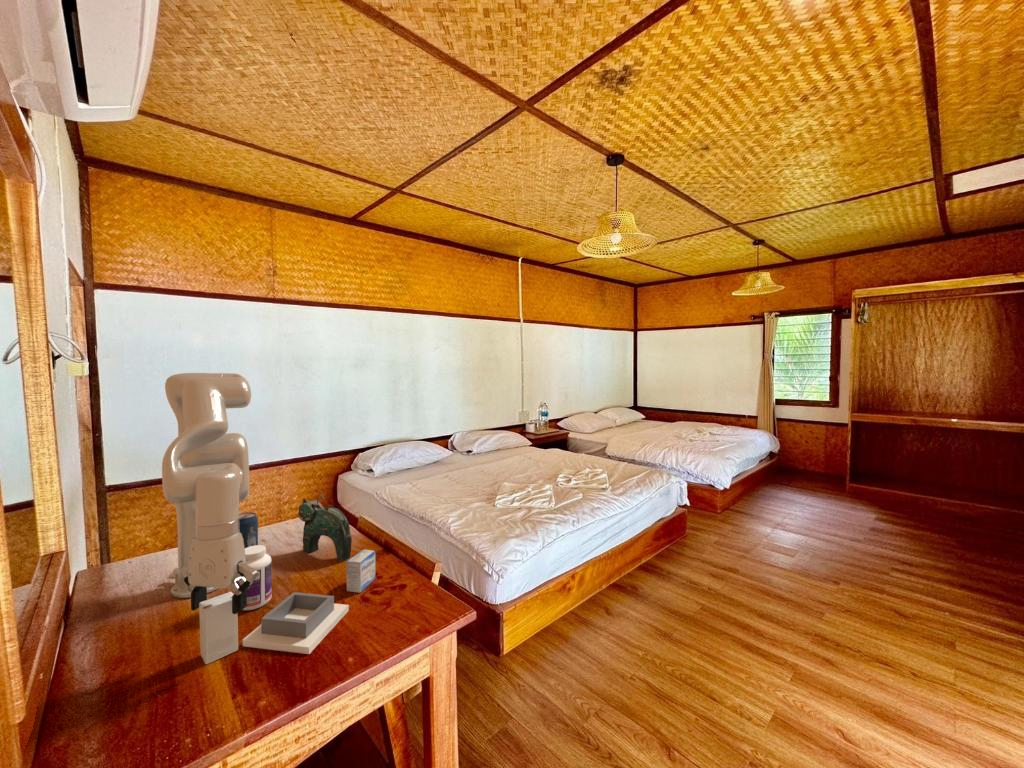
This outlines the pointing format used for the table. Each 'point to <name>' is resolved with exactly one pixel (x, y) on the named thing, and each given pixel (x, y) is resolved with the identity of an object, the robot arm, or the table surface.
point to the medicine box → (360, 571)
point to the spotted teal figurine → (325, 528)
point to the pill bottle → (258, 577)
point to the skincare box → (218, 628)
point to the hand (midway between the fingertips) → (219, 608)
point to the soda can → (249, 528)
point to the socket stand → (297, 623)
